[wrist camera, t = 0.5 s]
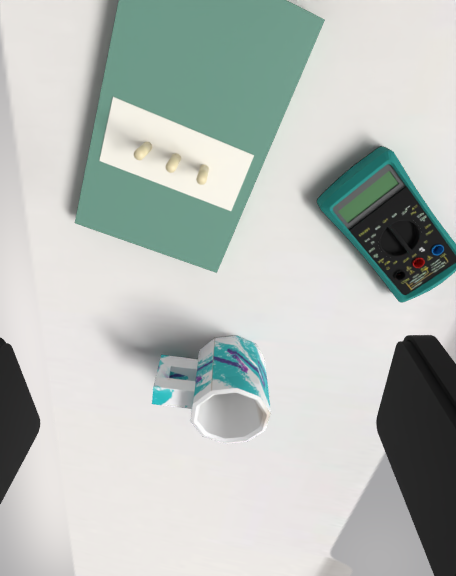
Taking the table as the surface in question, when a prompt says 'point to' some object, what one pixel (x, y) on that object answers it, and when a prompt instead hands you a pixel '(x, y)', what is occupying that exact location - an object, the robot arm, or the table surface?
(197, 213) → the header board
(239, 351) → the mug
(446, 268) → the digital multimeter
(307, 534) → the table surface
